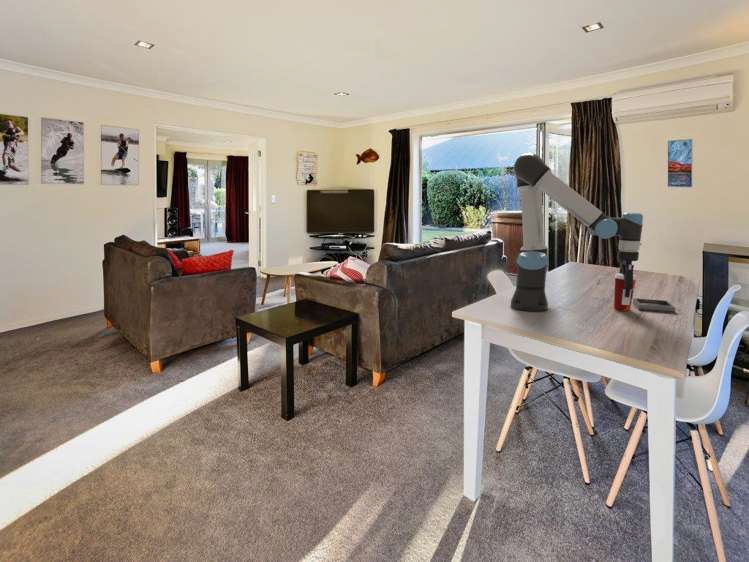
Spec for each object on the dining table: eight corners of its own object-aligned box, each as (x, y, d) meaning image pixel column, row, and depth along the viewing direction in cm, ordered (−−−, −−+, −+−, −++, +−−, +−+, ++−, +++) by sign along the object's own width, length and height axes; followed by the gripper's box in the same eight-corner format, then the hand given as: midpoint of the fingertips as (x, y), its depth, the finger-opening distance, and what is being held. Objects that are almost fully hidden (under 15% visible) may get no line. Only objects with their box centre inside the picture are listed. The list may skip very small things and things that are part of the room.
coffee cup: (636, 312, 182) (640, 276, 180) (614, 311, 184) (618, 275, 181) (628, 307, 190) (633, 273, 188) (608, 306, 192) (611, 272, 189)
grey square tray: (638, 310, 186) (639, 304, 186) (632, 303, 198) (633, 298, 198) (674, 312, 182) (675, 307, 182) (666, 305, 194) (667, 300, 194)
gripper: (645, 254, 170) (638, 308, 174) (633, 247, 193) (627, 295, 197) (623, 253, 172) (617, 307, 177) (613, 247, 195) (608, 294, 199)
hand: (622, 301), depth 187 cm, fingers open, 12 cm apart
